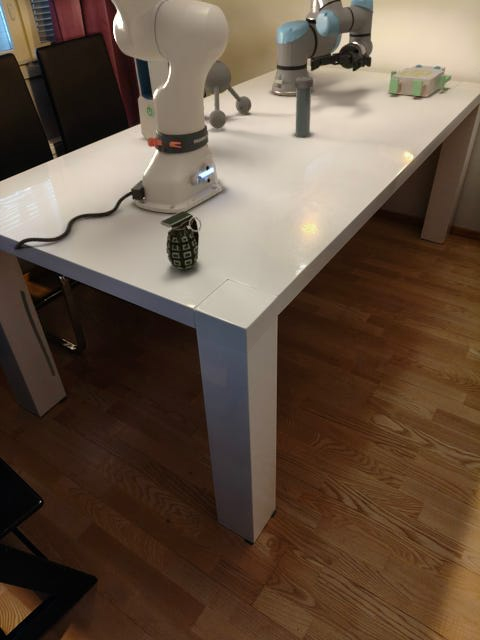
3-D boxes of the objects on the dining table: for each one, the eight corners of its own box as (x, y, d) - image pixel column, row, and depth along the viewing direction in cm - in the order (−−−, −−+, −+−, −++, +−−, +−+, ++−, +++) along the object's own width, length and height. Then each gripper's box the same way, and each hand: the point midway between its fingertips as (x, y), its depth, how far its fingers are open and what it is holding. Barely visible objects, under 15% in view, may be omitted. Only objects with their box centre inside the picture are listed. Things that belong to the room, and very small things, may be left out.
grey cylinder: (312, 134, 149) (314, 79, 139) (303, 138, 147) (305, 82, 137) (301, 132, 151) (303, 78, 142) (292, 135, 149) (293, 80, 140)
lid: (316, 86, 140) (316, 77, 139) (305, 89, 138) (305, 81, 136) (302, 83, 144) (303, 75, 142) (291, 87, 141) (291, 79, 139)
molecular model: (271, 118, 163) (270, 14, 145) (215, 133, 154) (207, 23, 136) (232, 105, 179) (227, 9, 161) (180, 117, 170) (168, 17, 151)
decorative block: (405, 62, 193) (457, 66, 183) (403, 80, 197) (453, 84, 187) (379, 75, 177) (434, 80, 167) (377, 94, 181) (431, 100, 171)
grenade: (182, 278, 88) (175, 228, 82) (162, 268, 91) (153, 219, 85) (208, 263, 92) (203, 214, 85) (187, 253, 95) (181, 205, 89)
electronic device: (141, 137, 154) (123, 28, 136) (159, 131, 158) (144, 24, 140) (166, 145, 147) (151, 30, 129) (185, 138, 151) (172, 26, 133)
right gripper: (387, 67, 165) (371, 80, 150) (316, 66, 175) (295, 78, 160) (389, 41, 160) (373, 52, 145) (317, 42, 170) (295, 53, 155)
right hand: (332, 66), depth 153 cm, fingers open, 13 cm apart
